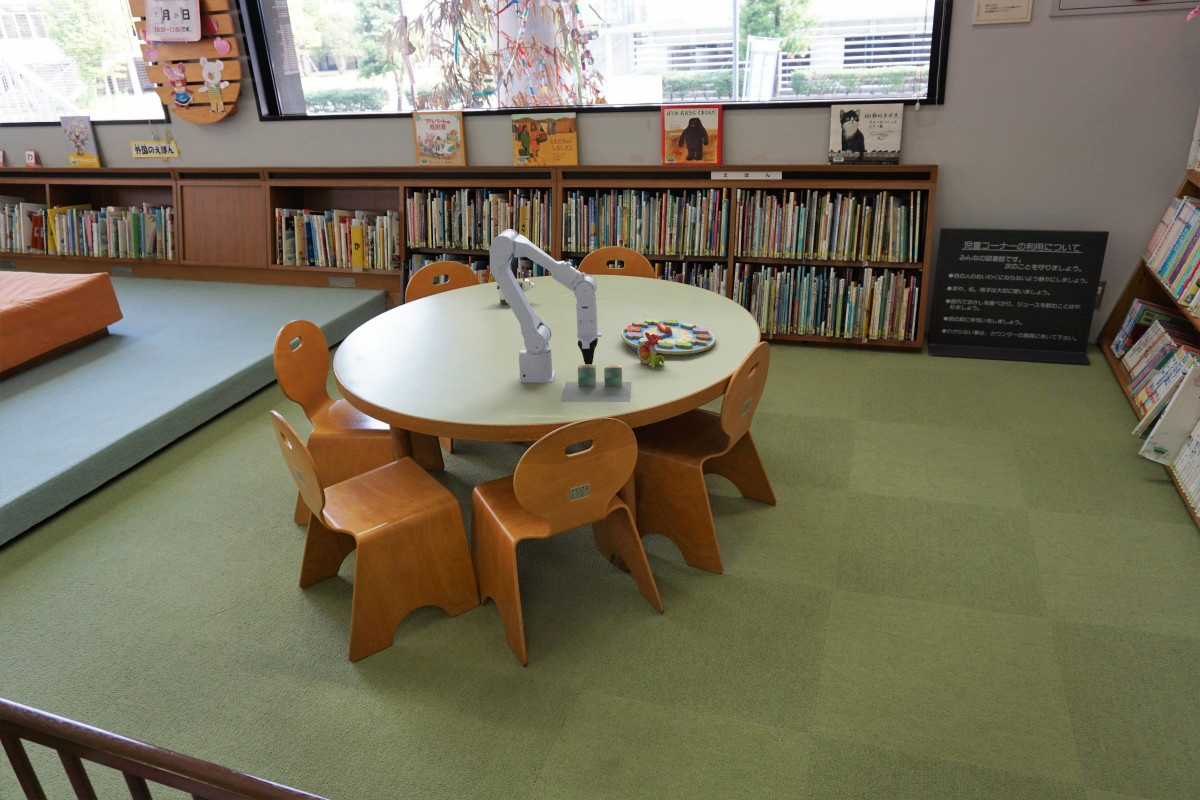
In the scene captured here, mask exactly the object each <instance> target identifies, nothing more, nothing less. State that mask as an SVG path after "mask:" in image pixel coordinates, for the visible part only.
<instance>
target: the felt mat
mask: <svg viewBox="0 0 1200 800" xmlns="http://www.w3.org/2000/svg"><path fill="white" fill-rule="evenodd" d="M631 391H632V381H622V387H605V382H604V381H596V387H578V381H565V384H564V387H563V391H562V396H561V399H560V402H628V403H629V402H631V393H632V392H631Z"/></svg>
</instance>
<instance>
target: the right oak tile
mask: <svg viewBox="0 0 1200 800" xmlns="http://www.w3.org/2000/svg"><path fill="white" fill-rule="evenodd" d="M603 374H604V376H603V379H604V381H603V382H605V387H622V382H623V365H622V364H619V365H618V364H615V365H614V364H611V365H610V364H608V365H607V364H605V365H604V366H603Z"/></svg>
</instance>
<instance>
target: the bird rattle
mask: <svg viewBox="0 0 1200 800" xmlns="http://www.w3.org/2000/svg"><path fill="white" fill-rule="evenodd" d="M645 335H646V337H647V339H648V341H642V342H641V343H640V344H639V346H638V349H637V353H636V354H637V357H638V359H639V362H640V364H642V365H650V368H651V369H654V367H655V365H659V364H660V363H661V364H663V365H664V364H665V357H664V356H663V355H657V353H656V349H655V346H654V344H656V345H659V343H658V340H659V339H660V338H661V336H660V335H655V334H652V335H650V334H649V333H647V332H646V333H645ZM644 346H646V347H644Z"/></svg>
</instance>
